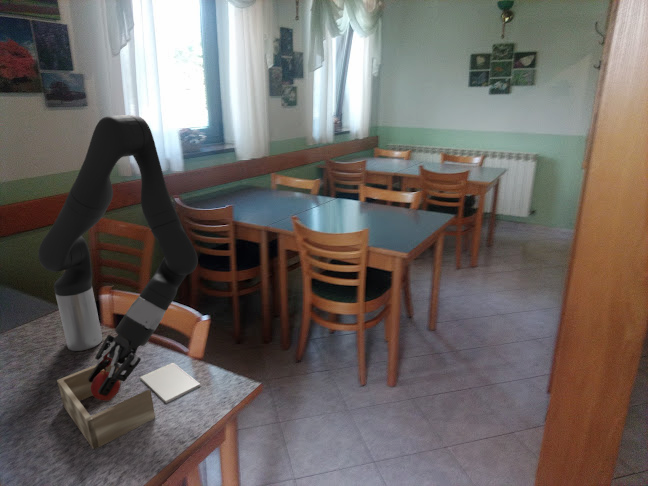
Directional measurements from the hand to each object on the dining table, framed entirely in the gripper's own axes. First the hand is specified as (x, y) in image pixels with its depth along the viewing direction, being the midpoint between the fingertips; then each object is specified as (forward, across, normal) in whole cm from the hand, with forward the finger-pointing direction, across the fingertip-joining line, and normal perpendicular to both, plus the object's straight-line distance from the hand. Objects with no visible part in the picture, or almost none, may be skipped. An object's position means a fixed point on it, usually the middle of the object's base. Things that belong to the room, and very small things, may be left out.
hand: (97, 387), depth 97 cm
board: (-6, 0, +16) cm, 18 cm away
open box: (+4, 0, +6) cm, 7 cm away
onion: (+2, 0, +4) cm, 5 cm away
